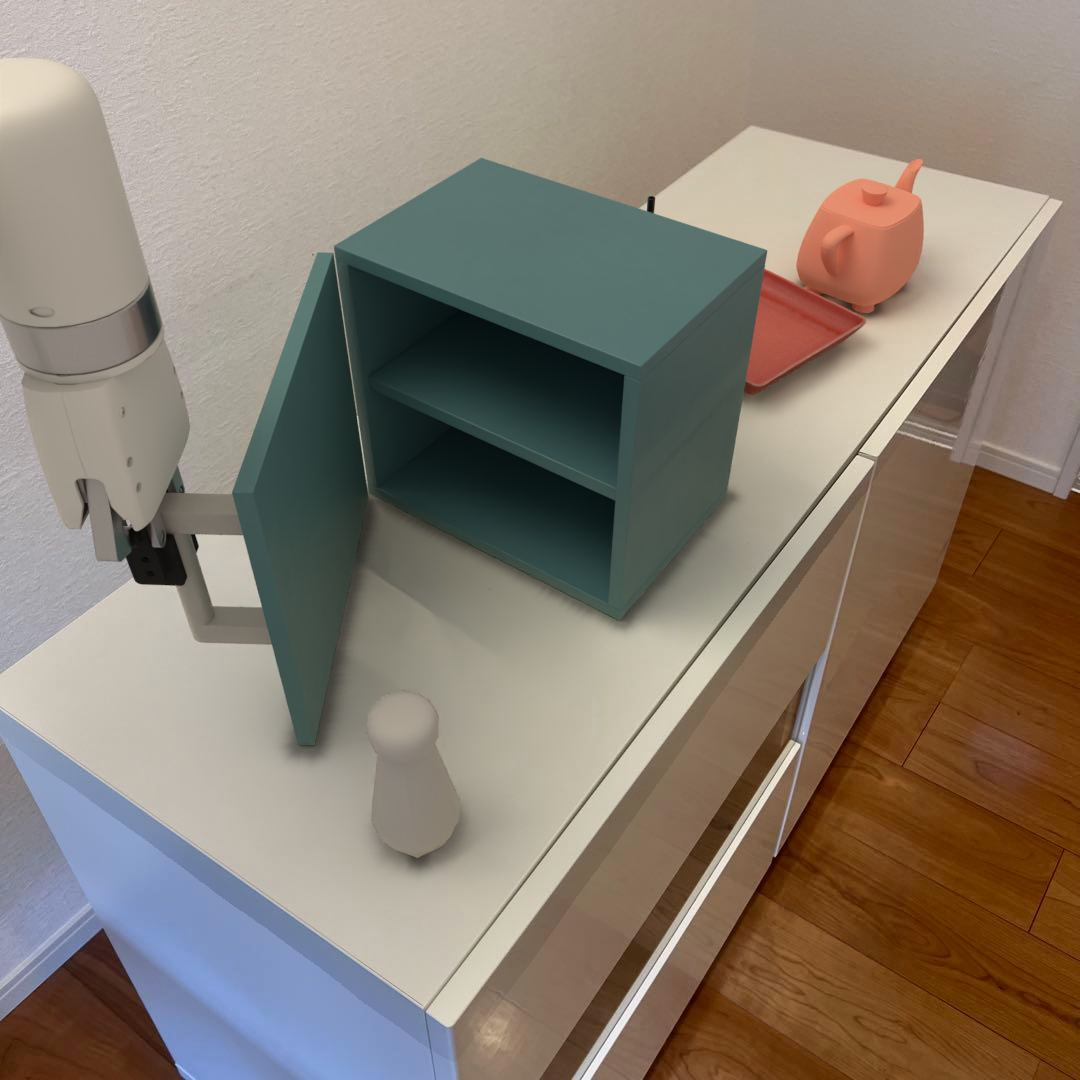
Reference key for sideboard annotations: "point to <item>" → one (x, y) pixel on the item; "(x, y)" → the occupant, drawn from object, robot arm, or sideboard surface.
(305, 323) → the fridge door
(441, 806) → the salt shaker
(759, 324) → the plant saucer
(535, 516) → the box
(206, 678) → the sideboard surface
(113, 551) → the robot arm
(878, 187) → the teapot
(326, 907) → the sideboard surface
